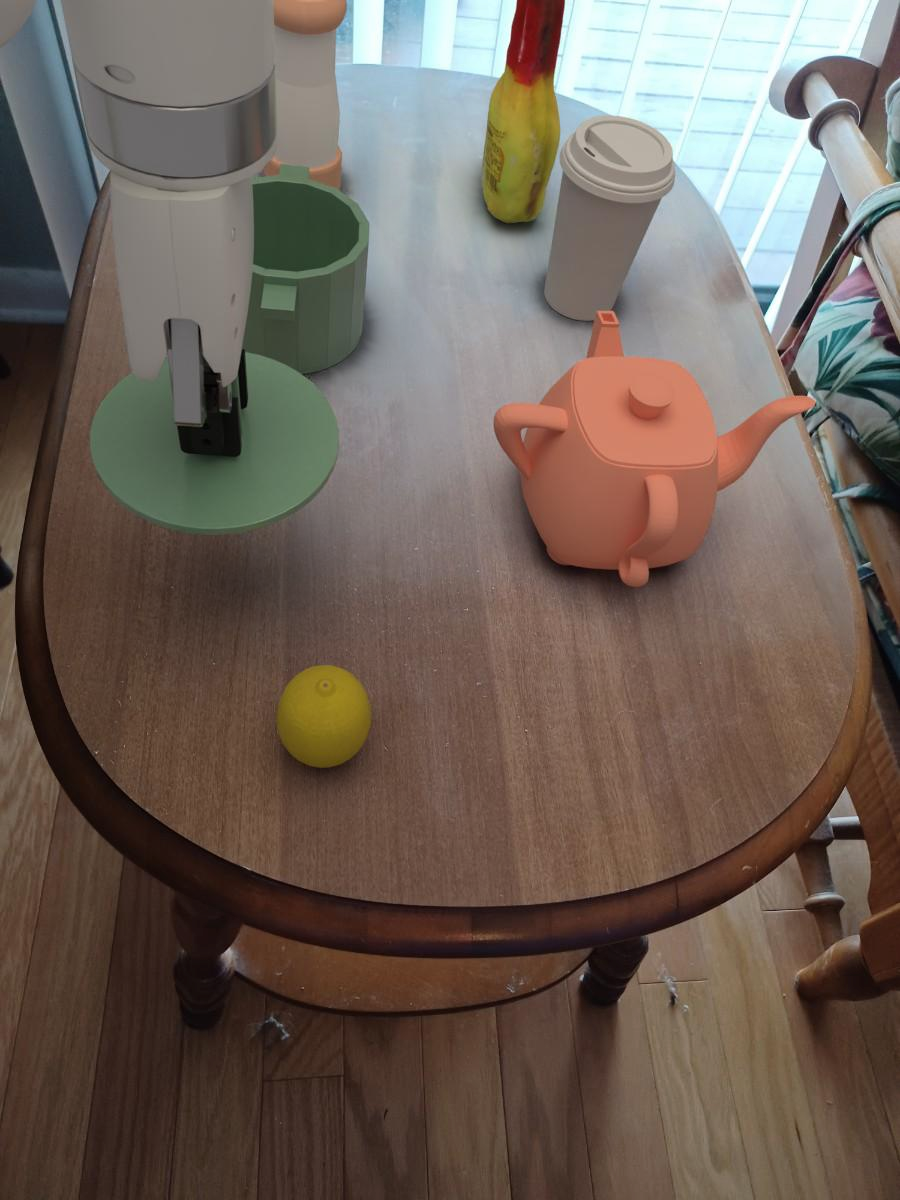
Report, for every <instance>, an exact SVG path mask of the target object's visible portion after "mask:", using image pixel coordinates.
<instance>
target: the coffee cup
mask: <svg viewBox="0 0 900 1200" xmlns="http://www.w3.org/2000/svg"><path fill="white" fill-rule="evenodd" d="M673 156H674V152H673V147H672V145H671V142H670V141H669V140H668V139H667V137H666V136H664V134H663V133H662V132H661V131H659V130H657V129H656V128H654V127H652V126H651V125H649V124H647V123H645V122H642V121H640V120H637V119H635V118H631V117H626V116H620V115H597V116H593V117H590V118H587V119H586V120H584V121H582V122H581V123H580V124H578V127H577V128H576V130H575V131H574V132H573V133H572V134H570V136H569V137H568V138H567V140H566V141H565V142H564V144H563V146H562V147H561V150H560V152H559V156H558V157H559V159H558V160H559V164H560V167H561V169H562V174H561V181H560V187H559V192H558V193H559V194H558V200H557V201H558V202H557V206H556V213H555V220H554V226H553V233H552V239H551V245H550V252H549V258H548V263H547V264H548V265H547V271H546V276H545V277H546V278H545V281H544V282H545V283H544V290H543V292H544V293H543V294H544V298H545V301H546V302H547V304H548V305H549V307H551V308H552V309H553V310H554V311H556V312H557V313H558V314H560V315H562V316H564V317H565V318H569V319H571V320H576V321H583V322H591V321H594V320H595V316H596V312H597V311H612V309H613V307H614V305H615V303H616V301H617V298H618V297H619V294H620V291H621V289H622V287H623V285H624V283H625V280H626V278H627V276H628V274H629V271H630V270H631V267H632V265H633V263H634V261H635V258H636V257H637V254H638V252H639V250H640V247H641V245H642V243H643V241H644V239H645V236H646V234H647V231H648V230H649V227H650V225H651V222H652V220H653V219H654V217H655V214H656V212H657V210H658V208H659V205H660V203H661V201H662V199H663V198H664V197H665V196H667V195H668V194H669V193H670V192H671V191H672V190H673V188H674V185H675V181H676V180H675V179H676V165H675V162H674V157H673Z"/></svg>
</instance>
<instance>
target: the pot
mask: <svg viewBox="0 0 900 1200" xmlns="http://www.w3.org/2000/svg"><path fill="white" fill-rule="evenodd" d="M252 187H253V211H254V254H253V271H252V282H251V291H250V298H249V306H248V313H247V320H246V326H245V332H244V338H243V344H242V349H245V352H248V353H253V354H257V355H261V356H264V357H267V358H270V359H273V360H276V361H278V362H280V363H283V364H285V365H287V366H289V367H290V368H292V369H294V370H296V371H298V372H299V373H300V374H302V375H305V374H313V373H316V372H321V371H324V370H327V369H329V368H331V367H333V366H336V365H338V364H339V363H341V362H343V361H344V360H345V359H347V357H349V356H350V355H351V354H352V353H353V352H354V350H355V349H356V348H357V346H358V344H359V343H360V340H361V337H362V335H363V328H364V313H365V299H366V286H367V285H366V284H367V272H368V257H369V245H370V244H369V243H370V222H369V220H368V218H367V216H366V215H365V213H364V211H363V210H362V208H361V206H360V205H359V203H358V202H356V201H355V200H354V199H352V198H351V197H350V196H348V195H347V194H345V193H344V192H343V191H341V189H340V190H338V189H336V188H334V187H331V186H328V185H325V184H322V183H320V182H317V181H314V180H311V179H309V167H305V166H296V165H286V164H280V169H279V175H273V176H265V177H264V176H258V177H252Z"/></svg>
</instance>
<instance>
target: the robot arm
mask: <svg viewBox="0 0 900 1200" xmlns="http://www.w3.org/2000/svg"><path fill="white" fill-rule="evenodd" d="M36 3H37V0H0V50H1V49H2V48H3V47H4V46H5V45H7V43H9V42H10V41H11V40H12V39H13V38H15V37H16V36H17V34H18V33H19V32H20V30H21V29H22V27H23V26H24V24H25V23H26V22H27V20H28V18H29V17H30V15H31V14H32V12H33V11H34V8H35V6H36ZM60 4H61V9H62V14H63V15H62V16H63V19H64V24H65V29H66V35H67V39H68V40H67V41H68V46H69V50H70V56H71V61H72V66H73V73H74V77H75V81H76V86H77V91H78V97H79V102H80V107H81V112H82V117H83V123H84V127H85V131H86V137H87V143H88V146H89V148H90V151H91V152H92V154H93V155H94V157H95V158H96V159H97V160H98V161H99V163H100V164H102V165H103V166H104V167H106V169H107V170H109V187H110V213H111V214H110V215H111V216H110V217H111V231H112V242H113V253H114V262H115V269H116V270H115V271H116V278H117V279H116V280H117V286H118V293H119V301H120V307H121V316H122V322H123V329H124V337H125V343H126V349H127V350H126V351H127V356H128V364H129V368H130V371H131V373H133V374H134V376H135V377H136V378H137V379H138V380H139V381H152V382H155V381H156V379H157V377H158V375H159V373H160V370H161V368H162V365H163V363H164V360H165V358H166V357H167V356H168V364H169V372H170V380H171V387H172V395H173V403H174V422H175V425H177V429H178V435H179V442H180V448H181V450H182V451H183V452H184V453H188V454H200V455H215V456H229V457H237V456H239V455H240V454H241V447H242V442H241V429H240V417H239V404H238V397H233V396H232V389H231V382H232V381H234V380H235V379H236V377H237V373H238V378H239V391H240V404H241V410H243V409H244V408H246V407H247V403H248V388H247V373H246V358H245V349H242V344H243V338H244V332H245V326H246V320H247V313H248V306H249V298H250V291H251V282H252V271H253V254H254V211H253V187H252V178H253V177H254V176H255V175H257V174H259V173H260V172H262V171H264V168H265V166H266V165H267V164H268V163H269V162H270V161H271V159H272V158H273V156H274V154H275V151H276V147H277V120H276V79H275V40H274V6H273V0H60ZM204 374H207V375H216V379H217V380H216V381H217V388H215V387H204Z"/></svg>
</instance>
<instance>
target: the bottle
mask: <svg viewBox="0 0 900 1200" xmlns="http://www.w3.org/2000/svg"><path fill="white" fill-rule="evenodd" d="M565 6H566V0H516V5H515V12H514V15H513V19H512V22H511V27H510V29H511V30H510V40H509V43H508V46H507V50H506V56H505V58H506V59H505V66H504V72H503V73H502V74H501V76H500V77H499V79H498V80H497V82H496V84H495V86H494V87H493V89H492V92H491V95H490V98H489V102H488V103H489V104H488V111H487V120H486V121H487V123H486V130H485V141H484V146H483V153H482V154H483V155H482V165H481V166H482V167H481V178H480V179H481V180H480V182H481V187H482V193H483V198H484V199H483V200H484V201H485V204H486V206H487V211H488V212H489V213H490V215H491V216H492V217H493V218H495V219H496V220H497V219H498V221H501V222H503V223H506V224H515V223H522V222H523V223H524V222H532V221H533V220H535V219H536V218H537V217H538V216H539V215H540V213H541V212H542V209H543V206H544V203H545V200H546V192H547V188H548V184H549V183H550V179H551V175H552V172H553V169H554V167H555V163H556V159H557V155H558V150H559V146H560V145H559V144H560V139H561V120H560V113H559V107H558V101H557V96H556V92H555V85H554V83H555V73H556V68H557V61H558V56H559V55H558V54H559V49H560V44H561V39H562V30H563V22H564V15H565Z"/></svg>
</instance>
